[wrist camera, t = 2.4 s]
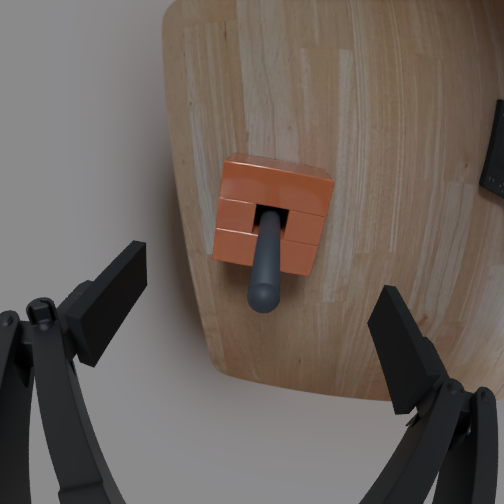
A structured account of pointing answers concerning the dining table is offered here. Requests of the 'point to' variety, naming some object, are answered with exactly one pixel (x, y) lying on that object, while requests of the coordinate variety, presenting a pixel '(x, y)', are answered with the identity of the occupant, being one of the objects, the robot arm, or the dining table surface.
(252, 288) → the stylus
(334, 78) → the dining table surface
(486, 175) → the handheld gaming console
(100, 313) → the robot arm
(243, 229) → the pen stand
